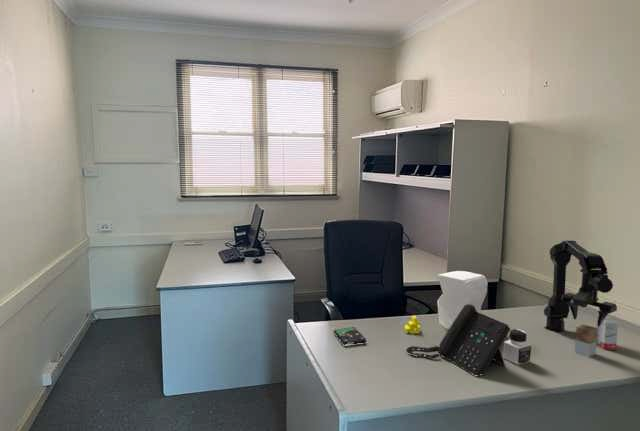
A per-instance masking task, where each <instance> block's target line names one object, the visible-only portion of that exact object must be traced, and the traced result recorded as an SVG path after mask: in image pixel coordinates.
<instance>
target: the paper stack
mask: <svg viewBox="0 0 640 431" xmlns="http://www.w3.org/2000/svg"><path fill="white" fill-rule="evenodd" d="M435 276H436V277H437V279H438V282H439V284H440V288H441V291H442V292H441V293H442V294H441V296H439V298H438V299H437V300H436V301H437V313H438V314H437V315H438V322H439V325H440V324H441V325H442V326H443V327H445V328H448V329H449V328H450V327H451V325H452V324H453V322H454V320H455V319H456V317H457V316H458V315H459V313H460V312H461V310H462V309H463V307H464V306H465V305H469V304H470V305H473V306H474V307H475V309H476V311H477V312H478V313H481V311H482V305H483V303H484V300H485V298H486V296H487V293H488V283H489V282H488V281H487V278H486V276H485V275H484V274H480V273H475V272H472V271H465V270H455V271H449V272H444V273H439V274H436V275H435ZM441 325H440V326H441ZM442 326H441V327H442ZM443 327H442V328H443ZM445 328H444V329H445ZM448 329H447V330H448Z"/></svg>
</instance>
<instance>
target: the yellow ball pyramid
mask: <svg viewBox="0 0 640 431" xmlns="http://www.w3.org/2000/svg"><path fill="white" fill-rule="evenodd" d="M420 325H421V322H420V320H419V318H418V317H417V316H416V315H412V316H411V318H410V320H409V321H408V323H407V324H405V325H404V328H403V332H404V331H405V332H409V331H410V332H412V333H415V332H419V333H420V332H421V326H420Z"/></svg>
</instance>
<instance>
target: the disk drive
mask: <svg viewBox="0 0 640 431" xmlns="http://www.w3.org/2000/svg"><path fill="white" fill-rule="evenodd" d="M334 333H335V334H336V335H337V337H338V338H339V339H340V340H341V342H342V343H343V344H344V345H345V344H357V343H365V342H366V343H367V338H365V336H363V334H362V333H361V332H359V330H358V329H357V328H356V327H355V326H351V327H343V328H335V329H334V330H333V334H334ZM337 337H336V338H337ZM341 342H340V343H341Z"/></svg>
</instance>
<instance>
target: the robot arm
mask: <svg viewBox="0 0 640 431" xmlns="http://www.w3.org/2000/svg"><path fill="white" fill-rule="evenodd" d="M549 255H550V261H552V264H553V284H552V285H553V286H552V296H550V299H549V300H548V303H547V306H545V308H544V310H543V315H544V316H545V317H546V325H545V326H544V329H546V330H549V331H551V332H555V333H560V332H563V331H565V330H566V328H565V319H568V316H569V313H570V311H571V315H572V317H573V320H577V317H578V309H579V307H581V308H587V306H592V307H596V308H598V309H599V310H598V311H597V313H598V316H599V318H598V326H600V325H601V324H602V322H603V320H604V319H605V317H608V315H609V314H611V313H615V312H617V310H618V306H617V304H616V303H614V302H609V301H603V302H599V300H600V299H599V297H598V293H599V292H600V293H603V294H604V293H609V292H610V291H611V290H612V289H613V288H614V284H613V282H612V280H611V279H610V278H609V275H608V268H607V266H606V263H605V260H604V258H603V257H602V256H601V255H600V254H599V253H593V252H589V251H588V250H586V248H584V247H582V246H581V245H580V244H578V242H577V241H576V240H567V239H565V240H562V241H561V242H560V243H557V244H554V245H553V246H552V247H551V248H550V249H549ZM572 256H573V257H575V259H577V260H578V265H580V267H581V269H580V272H581V273H582V274H581V286H580V287H579V289H578V292H577V293H574V292H566V279H567V277H566V276H567V266H568V264H569V263H570V262H571V259H572Z"/></svg>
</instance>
